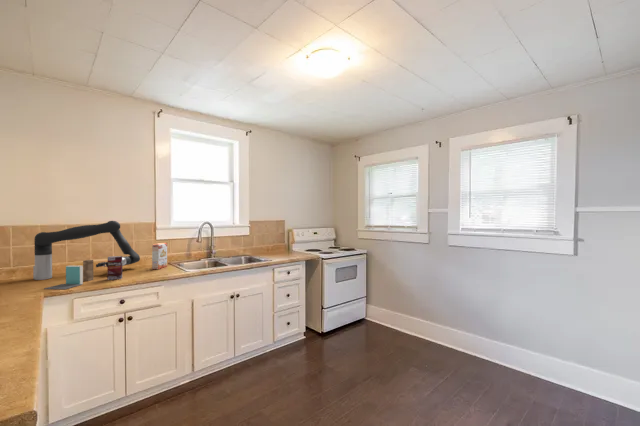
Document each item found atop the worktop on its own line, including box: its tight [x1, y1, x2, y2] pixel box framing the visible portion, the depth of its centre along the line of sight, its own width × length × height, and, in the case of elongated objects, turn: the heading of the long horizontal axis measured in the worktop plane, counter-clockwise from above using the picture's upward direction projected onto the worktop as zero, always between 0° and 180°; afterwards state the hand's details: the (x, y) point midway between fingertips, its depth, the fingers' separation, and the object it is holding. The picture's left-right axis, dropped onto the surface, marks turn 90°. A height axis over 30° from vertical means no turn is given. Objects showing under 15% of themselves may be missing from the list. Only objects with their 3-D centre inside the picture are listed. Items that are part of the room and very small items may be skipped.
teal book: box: [65, 265, 84, 285], centre depth 199 cm, size 10×2×12 cm, turn 85°
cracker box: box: [151, 242, 168, 270], centre depth 257 cm, size 14×6×21 cm, turn 179°
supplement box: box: [106, 255, 124, 281], centre depth 215 cm, size 9×5×16 cm, turn 117°
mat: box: [44, 283, 83, 290], centre depth 192 cm, size 14×12×1 cm
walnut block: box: [82, 259, 94, 282], centre depth 210 cm, size 4×4×14 cm
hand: (101, 265), depth 222 cm, fingers open, 8 cm apart
